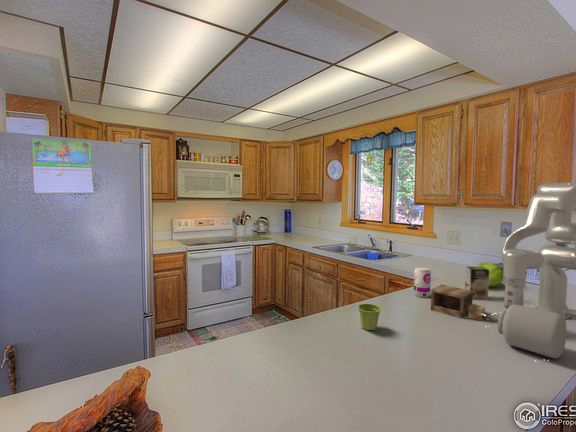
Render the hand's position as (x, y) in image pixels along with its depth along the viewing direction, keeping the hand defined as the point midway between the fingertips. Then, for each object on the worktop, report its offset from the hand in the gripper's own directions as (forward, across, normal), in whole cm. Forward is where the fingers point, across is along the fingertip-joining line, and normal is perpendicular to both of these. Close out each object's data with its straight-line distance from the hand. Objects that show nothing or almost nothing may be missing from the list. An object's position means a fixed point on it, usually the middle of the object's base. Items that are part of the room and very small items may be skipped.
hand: (512, 324), depth 128 cm
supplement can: (+1, +12, +43) cm, 45 cm away
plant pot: (+1, -45, +39) cm, 60 cm away
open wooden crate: (+1, 0, +24) cm, 24 cm away
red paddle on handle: (+1, 0, +7) cm, 7 cm away
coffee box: (+1, +30, +22) cm, 37 cm away
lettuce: (+1, +58, +25) cm, 63 cm away
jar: (+1, -20, -6) cm, 21 cm away
